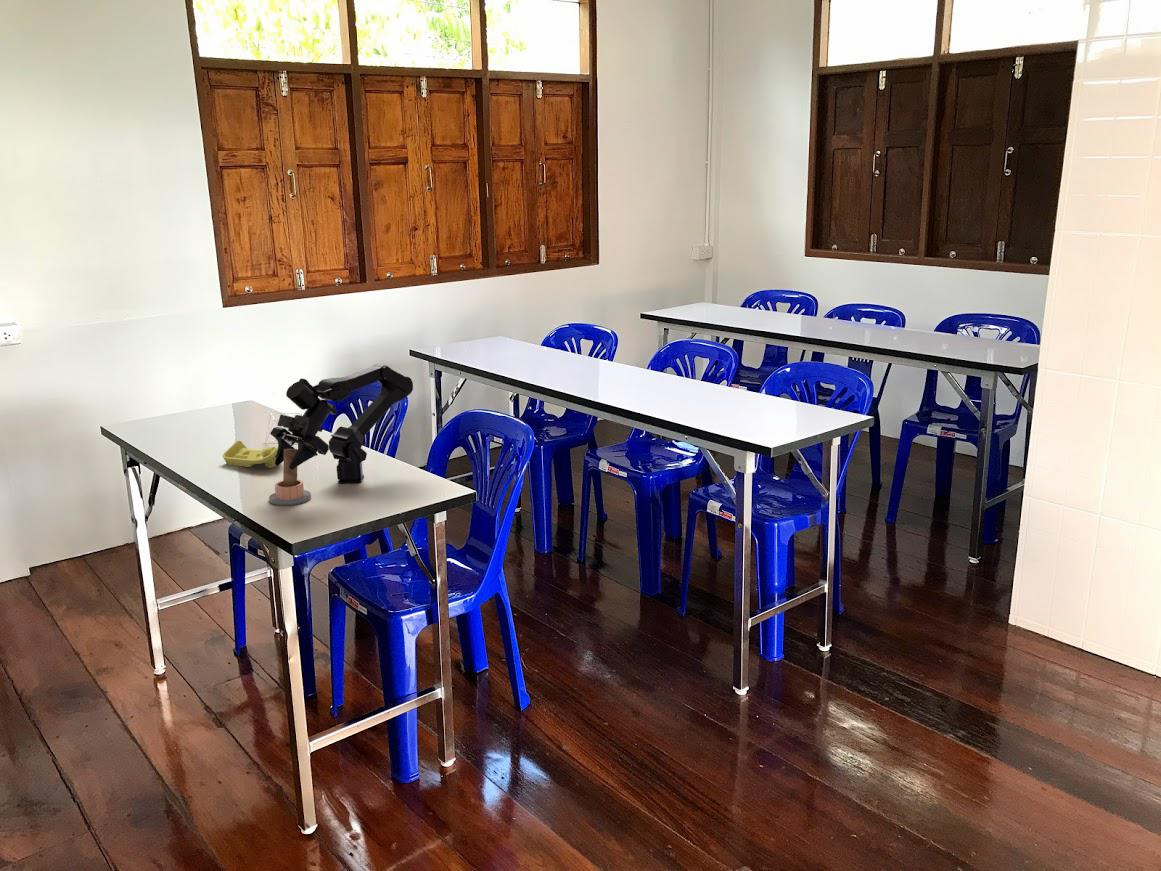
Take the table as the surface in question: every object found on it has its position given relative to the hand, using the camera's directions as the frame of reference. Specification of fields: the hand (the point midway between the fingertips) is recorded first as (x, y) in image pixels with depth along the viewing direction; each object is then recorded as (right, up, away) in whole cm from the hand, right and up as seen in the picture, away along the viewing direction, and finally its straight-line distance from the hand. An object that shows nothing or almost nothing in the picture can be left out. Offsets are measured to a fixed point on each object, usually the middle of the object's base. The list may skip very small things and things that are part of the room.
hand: (283, 466), depth 261 cm
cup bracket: (+1, -9, +4) cm, 10 cm away
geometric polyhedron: (-19, +6, +62) cm, 65 cm away
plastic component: (-19, -1, +36) cm, 41 cm away
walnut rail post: (+1, -8, +3) cm, 8 cm away
